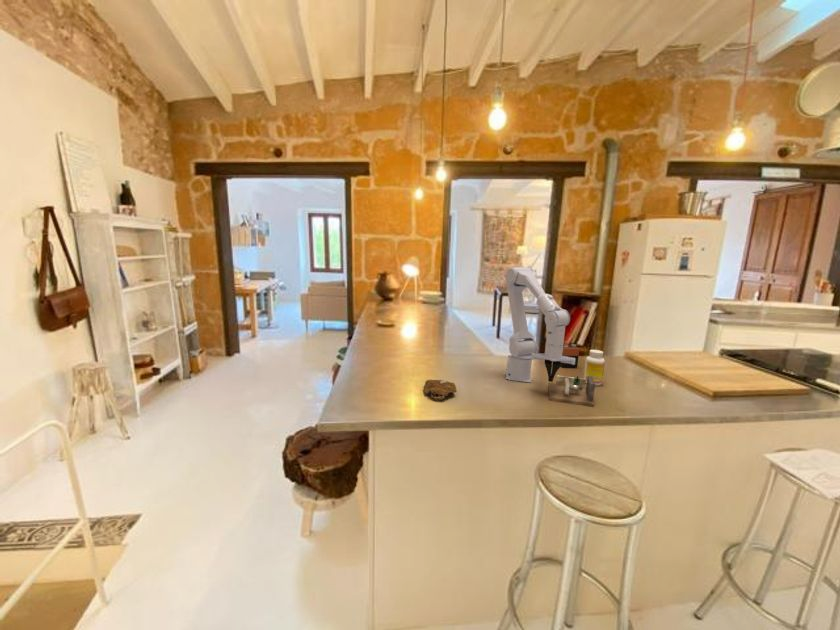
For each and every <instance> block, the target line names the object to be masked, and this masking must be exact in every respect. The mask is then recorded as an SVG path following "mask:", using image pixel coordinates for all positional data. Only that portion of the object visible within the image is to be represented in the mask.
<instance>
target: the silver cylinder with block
mask: <svg viewBox="0 0 840 630" xmlns="http://www.w3.org/2000/svg"><path fill="white" fill-rule="evenodd" d="M576 378H577V379H576V385H570V383H569V378H565V382H564V393H565V395H568V394H569V389H573V390H580V391H582V386H579V383H578V378H579V376H576Z"/></svg>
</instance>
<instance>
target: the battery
mask: <svg viewBox="0 0 840 630" xmlns="http://www.w3.org/2000/svg"><path fill="white" fill-rule="evenodd" d="M579 354H580V348H579V346H577V344H574V343H572V344H570V345H569V344H563V351H562V356H567V357H572V358H575V365H572V364H569V363H561V366H560V367H561V368H563V369H577V368H578V366H579V365H578V364H579V356H580V355H579Z"/></svg>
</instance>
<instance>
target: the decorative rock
mask: <svg viewBox="0 0 840 630" xmlns="http://www.w3.org/2000/svg"><path fill="white" fill-rule="evenodd" d="M423 389H424V390H423V391H424V393H425V394H427V395H430V396H431V398H432V399H433V400H434V401H438V400H439V401H444V400H445V399H446V397H448V396H450V394H451V393H452V394H453V393H457V392H458V391H457V386H456V384H455V383H454V382H451V381H449V380H448V381H447V380H442V379H427V380H426V381H425V382H424V386H423Z"/></svg>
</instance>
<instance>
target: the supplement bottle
mask: <svg viewBox="0 0 840 630" xmlns="http://www.w3.org/2000/svg"><path fill="white" fill-rule="evenodd" d="M603 356H604V351H602V350H599V349H590V350H589V356H587V357H585V365H584V374H583V379H586V383H585V384H587V377H588V376H592V377H593V380H594V382H595V386H601V385H602V384H603V381H604V379H603V378H604V372H605V371H604V370H605V362H606V361H605V359H604V357H603Z"/></svg>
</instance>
